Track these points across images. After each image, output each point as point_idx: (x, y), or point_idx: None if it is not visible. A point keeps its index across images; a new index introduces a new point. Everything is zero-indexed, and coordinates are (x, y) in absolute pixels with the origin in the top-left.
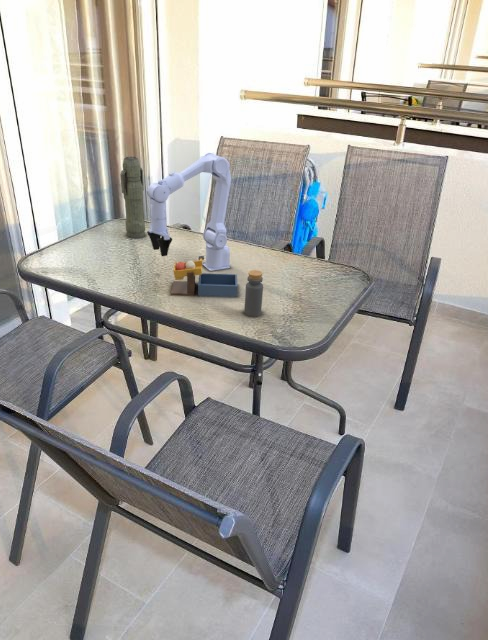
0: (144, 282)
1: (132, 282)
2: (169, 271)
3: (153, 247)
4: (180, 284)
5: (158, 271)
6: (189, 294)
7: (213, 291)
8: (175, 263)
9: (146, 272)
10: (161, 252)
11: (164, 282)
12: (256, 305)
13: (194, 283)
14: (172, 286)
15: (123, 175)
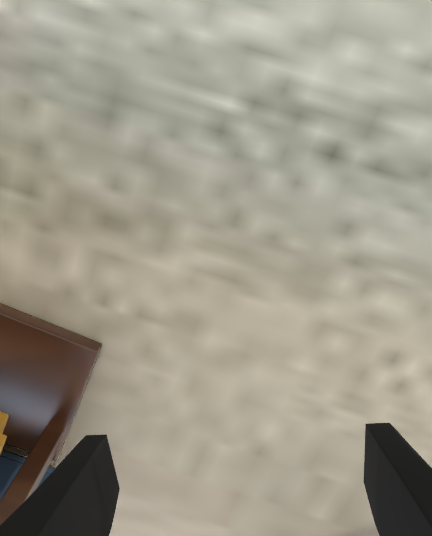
0: (172, 144)
1: (205, 34)
2: (316, 385)
3: (379, 447)
4: (26, 371)
5: (352, 317)
6: None
7: None
8: None
9: (376, 225)
10: (47, 477)
11: (129, 290)
12: None
13: (27, 448)
14: (5, 314)
15: None
